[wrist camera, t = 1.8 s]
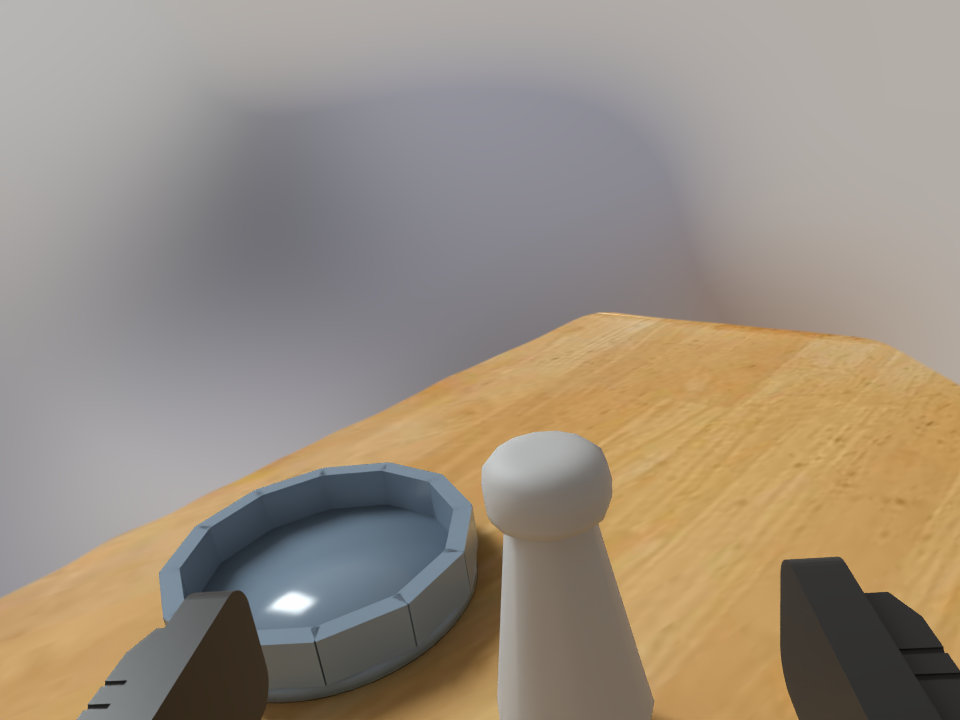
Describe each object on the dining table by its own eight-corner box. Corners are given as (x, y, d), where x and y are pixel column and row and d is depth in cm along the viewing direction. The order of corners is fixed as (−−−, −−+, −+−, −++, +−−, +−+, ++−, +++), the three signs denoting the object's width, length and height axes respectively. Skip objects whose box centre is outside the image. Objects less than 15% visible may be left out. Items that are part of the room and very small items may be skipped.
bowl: (488, 499, 47) (481, 454, 46) (460, 695, 32) (449, 635, 31) (247, 518, 49) (235, 475, 48) (117, 710, 34) (95, 654, 33)
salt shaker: (653, 693, 31) (631, 406, 27) (662, 821, 26) (637, 490, 21) (514, 691, 32) (470, 416, 28) (495, 814, 27) (437, 498, 22)
